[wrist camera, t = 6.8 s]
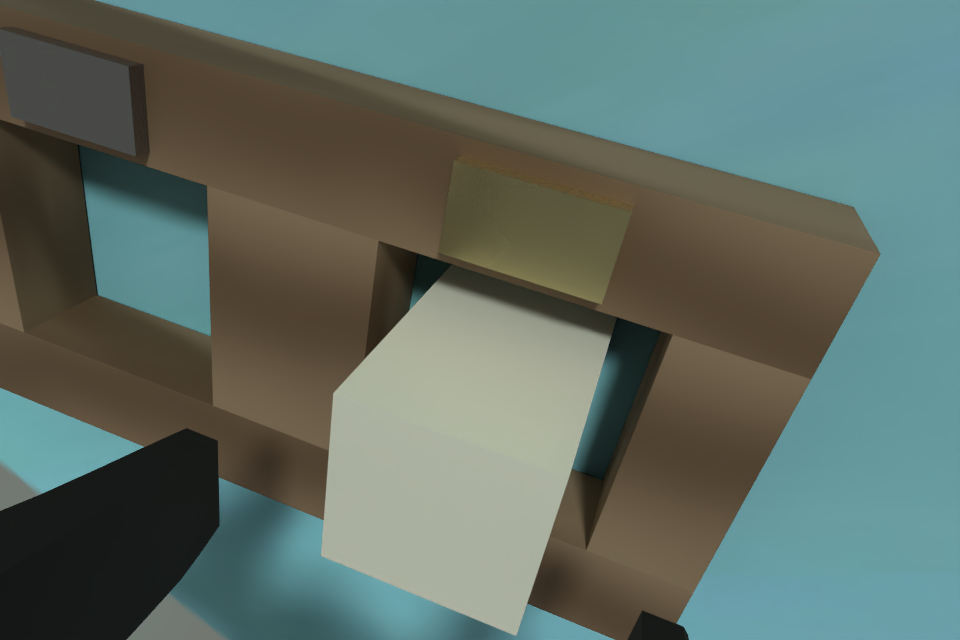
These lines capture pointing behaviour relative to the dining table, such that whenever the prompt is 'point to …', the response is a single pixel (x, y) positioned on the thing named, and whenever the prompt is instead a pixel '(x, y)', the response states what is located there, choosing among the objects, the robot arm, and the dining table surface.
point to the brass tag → (533, 228)
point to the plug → (462, 443)
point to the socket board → (388, 288)
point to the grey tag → (75, 90)
